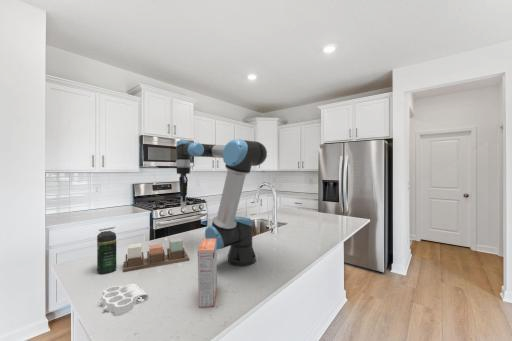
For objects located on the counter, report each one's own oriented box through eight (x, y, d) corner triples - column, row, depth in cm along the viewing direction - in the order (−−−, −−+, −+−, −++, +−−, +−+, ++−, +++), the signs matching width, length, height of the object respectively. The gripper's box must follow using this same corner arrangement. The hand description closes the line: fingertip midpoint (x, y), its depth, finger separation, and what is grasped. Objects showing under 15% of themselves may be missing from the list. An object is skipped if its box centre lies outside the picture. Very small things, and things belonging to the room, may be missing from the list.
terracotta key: (162, 258, 124) (162, 247, 124) (150, 260, 122) (150, 248, 121) (161, 254, 130) (161, 243, 130) (149, 256, 127) (149, 245, 127)
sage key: (182, 251, 129) (182, 240, 129) (170, 253, 126) (170, 242, 126) (180, 248, 134) (180, 237, 134) (169, 250, 131) (169, 239, 131)
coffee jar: (118, 271, 116) (117, 232, 115) (98, 275, 111) (97, 235, 110) (114, 264, 123) (114, 228, 123) (96, 268, 118) (95, 231, 118)
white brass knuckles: (152, 303, 89) (107, 322, 79) (133, 287, 102) (92, 301, 91) (152, 294, 89) (107, 312, 78) (133, 279, 101) (92, 292, 91)
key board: (189, 260, 129) (189, 250, 128) (123, 272, 114) (122, 260, 114) (185, 254, 137) (185, 244, 137) (123, 264, 123) (123, 253, 123)
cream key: (141, 258, 120) (141, 246, 120) (127, 260, 117) (127, 248, 117) (141, 254, 125) (140, 243, 125) (128, 256, 122) (127, 244, 122)
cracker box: (202, 288, 100) (202, 238, 99) (217, 287, 100) (217, 237, 100) (197, 308, 86) (197, 250, 85) (214, 307, 86) (214, 249, 86)
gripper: (174, 166, 145) (175, 205, 146) (178, 167, 134) (178, 209, 134) (187, 166, 149) (187, 204, 149) (192, 167, 137) (192, 208, 138)
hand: (183, 206), depth 142 cm, fingers closed
